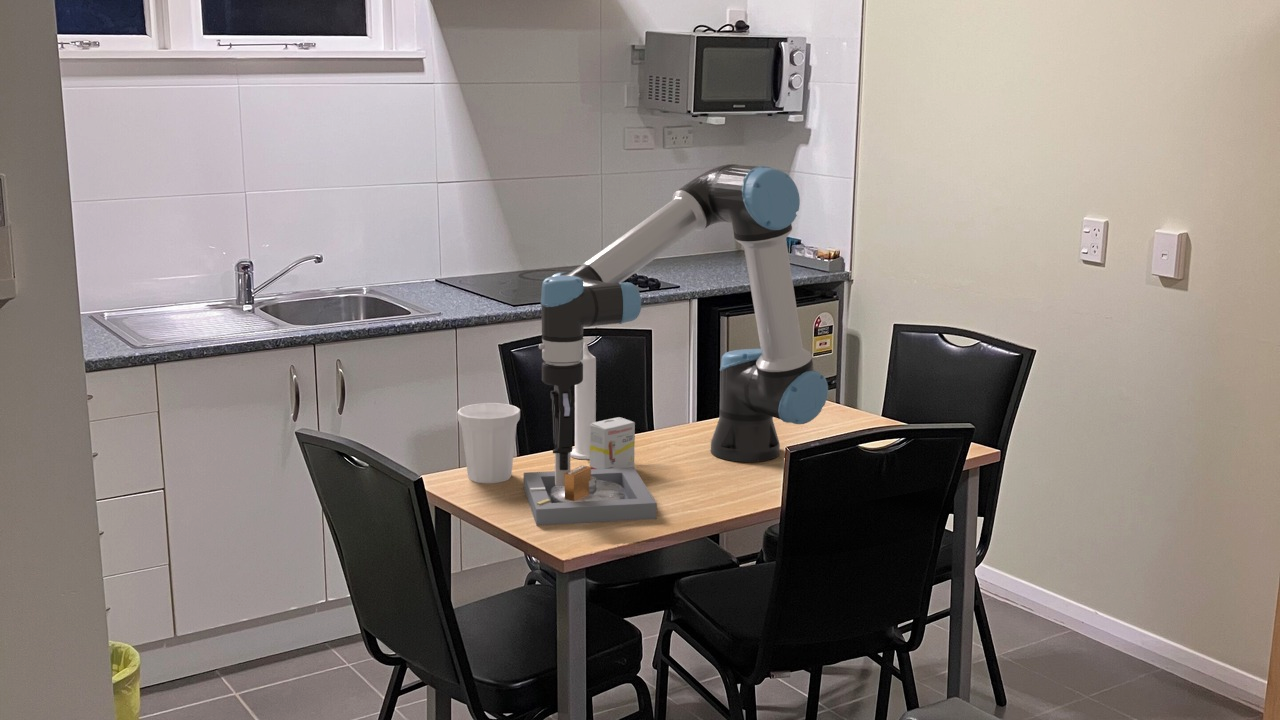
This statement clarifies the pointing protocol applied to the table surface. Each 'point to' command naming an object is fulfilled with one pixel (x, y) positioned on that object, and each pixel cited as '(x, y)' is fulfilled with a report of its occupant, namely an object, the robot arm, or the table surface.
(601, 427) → the ink box
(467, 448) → the cup
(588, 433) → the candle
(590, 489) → the dial
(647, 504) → the housing
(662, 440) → the table surface
